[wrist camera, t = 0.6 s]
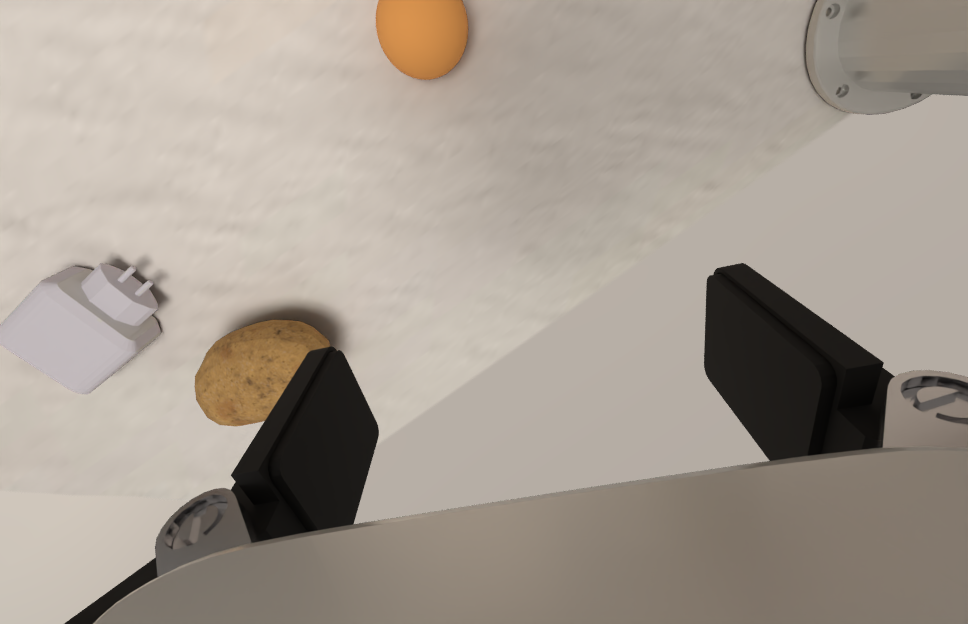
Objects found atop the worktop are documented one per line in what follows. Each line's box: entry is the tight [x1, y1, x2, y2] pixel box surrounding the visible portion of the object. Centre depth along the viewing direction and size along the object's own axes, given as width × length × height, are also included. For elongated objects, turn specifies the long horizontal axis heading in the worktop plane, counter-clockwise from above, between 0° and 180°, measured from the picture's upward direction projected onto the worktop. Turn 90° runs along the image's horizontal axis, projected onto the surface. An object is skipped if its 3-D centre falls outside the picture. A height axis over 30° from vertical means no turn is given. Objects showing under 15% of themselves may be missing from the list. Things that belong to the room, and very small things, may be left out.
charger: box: [0, 263, 161, 394], centre depth 40 cm, size 5×9×15 cm
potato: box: [195, 320, 330, 426], centre depth 41 cm, size 10×14×8 cm
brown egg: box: [376, 0, 468, 80], centre depth 28 cm, size 6×6×6 cm
